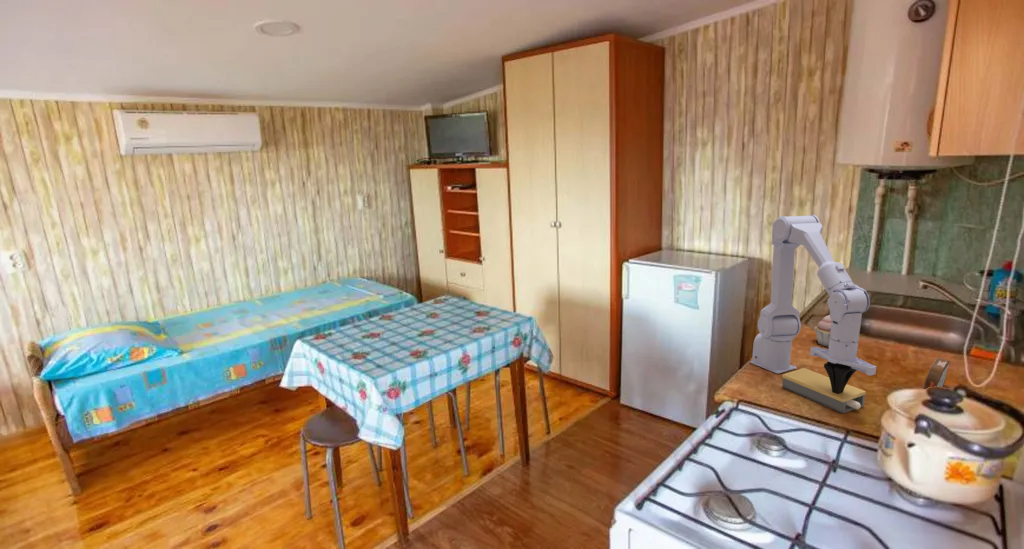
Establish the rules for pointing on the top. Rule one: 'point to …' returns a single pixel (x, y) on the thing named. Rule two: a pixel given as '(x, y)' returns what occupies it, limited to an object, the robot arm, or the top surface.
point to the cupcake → (824, 331)
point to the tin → (937, 373)
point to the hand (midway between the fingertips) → (837, 392)
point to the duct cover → (822, 384)
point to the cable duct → (824, 398)
